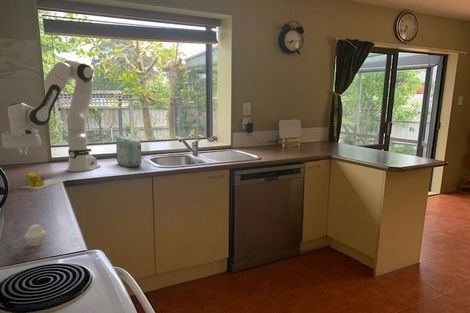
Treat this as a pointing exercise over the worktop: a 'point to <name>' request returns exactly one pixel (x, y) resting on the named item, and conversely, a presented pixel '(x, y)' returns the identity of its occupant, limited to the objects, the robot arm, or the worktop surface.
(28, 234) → the muffin
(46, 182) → the mat
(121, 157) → the lunch box
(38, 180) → the supplement box
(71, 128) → the robot arm
